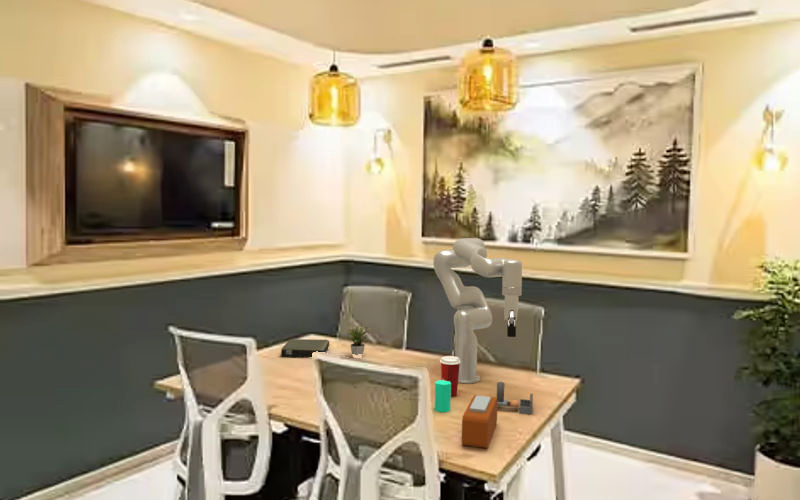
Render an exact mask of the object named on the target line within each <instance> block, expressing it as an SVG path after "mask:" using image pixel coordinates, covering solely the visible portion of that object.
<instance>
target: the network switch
mask: <svg viewBox="0 0 800 500" xmlns="http://www.w3.org/2000/svg"><path fill="white" fill-rule="evenodd" d="M328 347H329V348H330V340H328V339H309V338H308V339H306V338H305V339H302V338H298V339H295V338H291V339H288V341H286V343H284V345H283V347H282V348H281V349H280V350H281V353H280V354H281V355H280V356H281V358H283V357H287V358H303V357H312V353H313V352H316V351H318V352H326V353H327V351H328V350H329V349H328ZM327 349H328V350H327Z"/></svg>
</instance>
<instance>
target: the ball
mask: <svg viewBox="0 0 800 500" xmlns="http://www.w3.org/2000/svg"><path fill="white" fill-rule="evenodd" d="M510 401H511V403H510V406H509V407H518V408H520V402H519V401H518V400H516V399H513V400H510Z"/></svg>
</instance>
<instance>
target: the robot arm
mask: <svg viewBox="0 0 800 500" xmlns="http://www.w3.org/2000/svg"><path fill="white" fill-rule="evenodd" d="M487 257H488V252H487V250H486V245H485V243H484V240H482V239H480V238H479V237H469V238H468V237H467V238H459V239H457V240H455V242H454V243H453V245H452V249H441V250H439V251H437V252H436V253H435V254H434V255H433V260H432V261H433V269H434V272H435V274H436V276H437V278H438V279H439V281H440V283H441V284H442V285H441V286H443V290H444V293H445V294H446V297H447V299H448V302H449V304H450V306H451V307H452V308H454V309H459V310H457V311H456V312H455V313H454V315H453V325H454V331H455V350H454V352H455V354H454V355H455V356H454V357H458V358H459V360H460V365H459V377H458V384H475V383H478V382H479V381H481V377H480V376H479V375H478V374H477V371H478V369H477V368H478V367H477V366H478V365H477V363H478V338H477V335H476V334H475V332H474V330H475V331H476V330H481V329H487V328H489V327H490V326H491V325H492V324H493V314H492V312H491V310H490V306H489V304H488V302H487V300H486V296H485V295H484V293H483V292H482V290H481V289H480V288H479V287H477V286H473V285H471V286H466V285H464V284H463V282H462V280H461V277H460V276H459V274H457V272H456V271H454V270H453V269H456V268H458V269H459V268H467V267H469V266H470V267H471V269H472V272H474V273H476V274H477V275H480V276H481V277H484V278H501V277H502V282H501V284H502V287H501V288H502V291H501V295H502V296H504V303H503V304H504V306H503V307H504V308H503V309H504V313H503V315H504V317H503V319H504V321H507V334H506V335H507V337H509V338H515V337H516V336H517V332H516V331H517V326H516V323H517V322H516V321H517V320H518V313H519V296H522V290H523V289H522V286H523V285H522V284H523V279H522V277H523V263H522V261H521V260H519V259H510V258H507V257H501V258H499V257H496V258H495V257H494V258H487Z"/></svg>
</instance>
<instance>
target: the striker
mask: <svg viewBox="0 0 800 500" xmlns="http://www.w3.org/2000/svg"><path fill="white" fill-rule="evenodd" d="M496 398H497V406H507V401H508V399H505V382H503V381H497V382H496Z"/></svg>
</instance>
